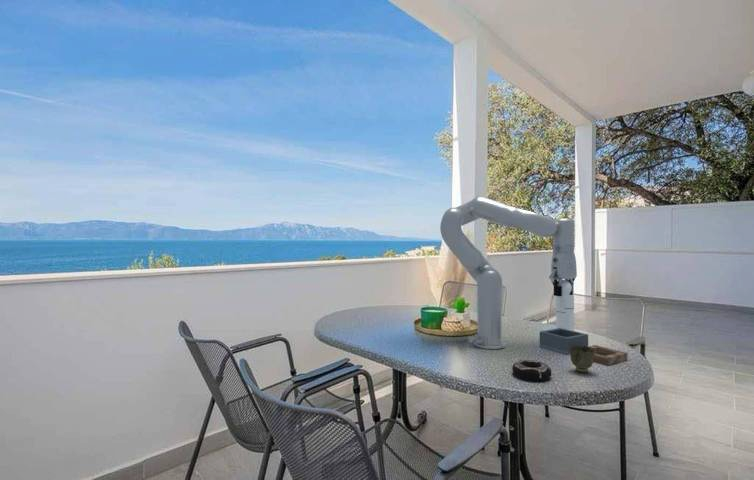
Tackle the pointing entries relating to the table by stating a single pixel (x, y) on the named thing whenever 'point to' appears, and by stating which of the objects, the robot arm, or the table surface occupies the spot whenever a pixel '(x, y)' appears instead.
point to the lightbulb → (565, 293)
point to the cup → (582, 357)
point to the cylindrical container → (565, 313)
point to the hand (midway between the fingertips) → (563, 294)
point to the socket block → (608, 355)
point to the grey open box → (562, 339)
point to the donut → (531, 370)
